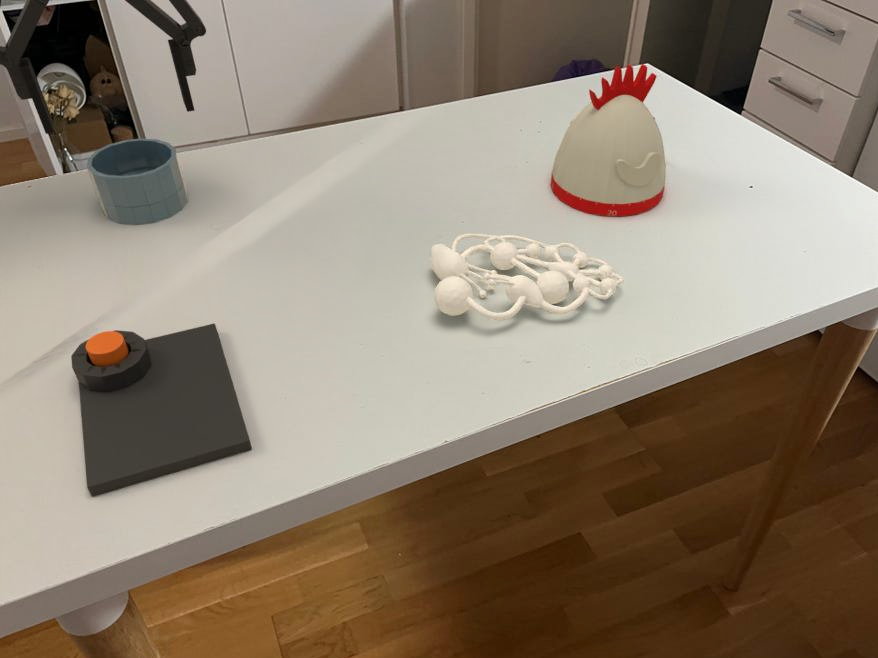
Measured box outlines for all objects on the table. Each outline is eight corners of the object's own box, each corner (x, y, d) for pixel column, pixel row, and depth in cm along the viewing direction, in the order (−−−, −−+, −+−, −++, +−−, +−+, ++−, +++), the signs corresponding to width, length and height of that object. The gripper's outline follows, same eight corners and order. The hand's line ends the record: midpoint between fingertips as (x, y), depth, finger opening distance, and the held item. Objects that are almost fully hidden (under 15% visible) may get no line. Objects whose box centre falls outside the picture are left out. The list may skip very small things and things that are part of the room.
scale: (80, 365, 68) (69, 340, 66) (217, 332, 71) (210, 307, 69) (92, 497, 57) (78, 472, 55) (252, 450, 61) (245, 424, 59)
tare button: (90, 349, 65) (84, 336, 64) (127, 341, 66) (121, 327, 65) (92, 371, 63) (86, 357, 62) (130, 362, 64) (125, 348, 63)
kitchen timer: (684, 204, 91) (713, 81, 81) (584, 225, 87) (601, 98, 77) (625, 154, 101) (644, 38, 90) (532, 171, 96) (541, 51, 86)
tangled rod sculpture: (599, 253, 85) (605, 219, 82) (634, 325, 73) (642, 289, 71) (427, 255, 83) (427, 221, 80) (436, 331, 71) (436, 293, 69)
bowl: (90, 225, 85) (68, 164, 80) (151, 190, 91) (133, 131, 86) (150, 247, 82) (130, 185, 77) (208, 210, 88) (193, 150, 83)
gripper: (-133, -105, 57) (-15, 153, 72) (203, -126, 65) (250, 111, 79) (-121, -123, 62) (-12, 122, 77) (190, -140, 70) (236, 85, 84)
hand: (121, 117), depth 78 cm, fingers open, 13 cm apart
